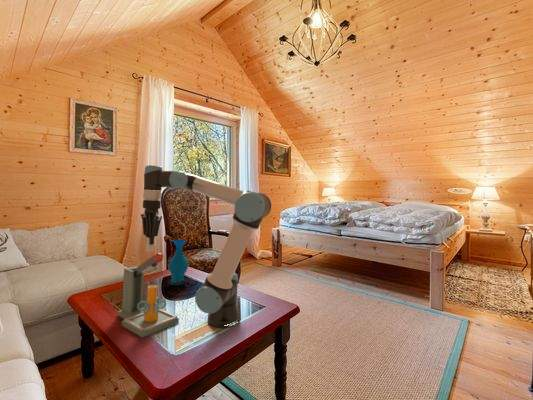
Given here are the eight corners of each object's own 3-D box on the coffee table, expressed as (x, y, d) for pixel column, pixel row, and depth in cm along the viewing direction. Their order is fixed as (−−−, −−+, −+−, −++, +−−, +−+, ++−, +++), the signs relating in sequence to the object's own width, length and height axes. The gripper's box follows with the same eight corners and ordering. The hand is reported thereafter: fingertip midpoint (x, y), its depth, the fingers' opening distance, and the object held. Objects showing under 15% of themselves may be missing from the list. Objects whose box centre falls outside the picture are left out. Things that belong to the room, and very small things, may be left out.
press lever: (168, 263, 123) (164, 250, 125) (158, 265, 119) (154, 252, 121) (140, 281, 135) (137, 269, 137) (131, 284, 131) (127, 271, 133)
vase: (163, 283, 181) (165, 240, 181) (178, 279, 192) (180, 238, 192) (176, 287, 175) (178, 243, 175) (191, 282, 186) (193, 240, 185)
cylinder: (153, 327, 119) (155, 292, 119) (131, 323, 121) (133, 289, 120) (168, 315, 131) (170, 283, 131) (148, 312, 133) (150, 281, 132)
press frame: (178, 322, 129) (181, 275, 128) (142, 337, 114) (144, 284, 113) (145, 306, 144) (147, 264, 144) (109, 318, 129) (111, 271, 129)
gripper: (168, 200, 126) (165, 252, 127) (151, 199, 134) (148, 248, 134) (153, 200, 120) (150, 254, 120) (136, 198, 127) (133, 250, 128)
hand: (149, 251), depth 127 cm, fingers closed
